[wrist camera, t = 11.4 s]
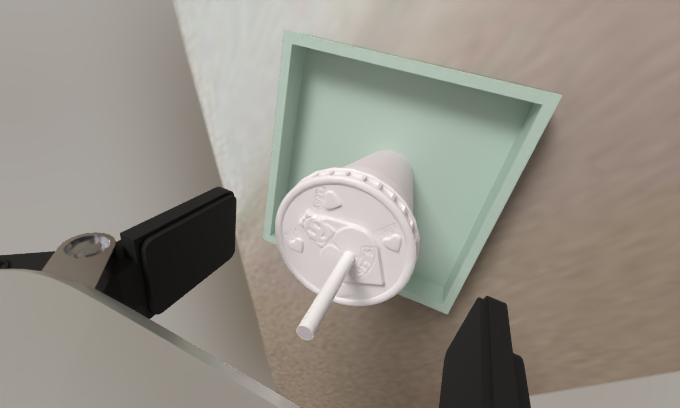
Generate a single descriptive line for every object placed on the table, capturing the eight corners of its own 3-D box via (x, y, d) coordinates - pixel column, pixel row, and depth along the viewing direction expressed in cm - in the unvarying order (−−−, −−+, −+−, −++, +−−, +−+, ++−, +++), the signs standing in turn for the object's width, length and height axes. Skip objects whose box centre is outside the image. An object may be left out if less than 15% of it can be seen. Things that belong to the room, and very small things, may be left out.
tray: (548, 91, 17) (562, 95, 14) (448, 291, 24) (447, 314, 21) (303, 34, 20) (284, 30, 18) (279, 225, 27) (262, 239, 25)
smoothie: (393, 234, 23) (318, 422, 11) (326, 179, 23) (179, 305, 11) (456, 172, 19) (452, 343, 7) (378, 108, 20) (250, 175, 7)
